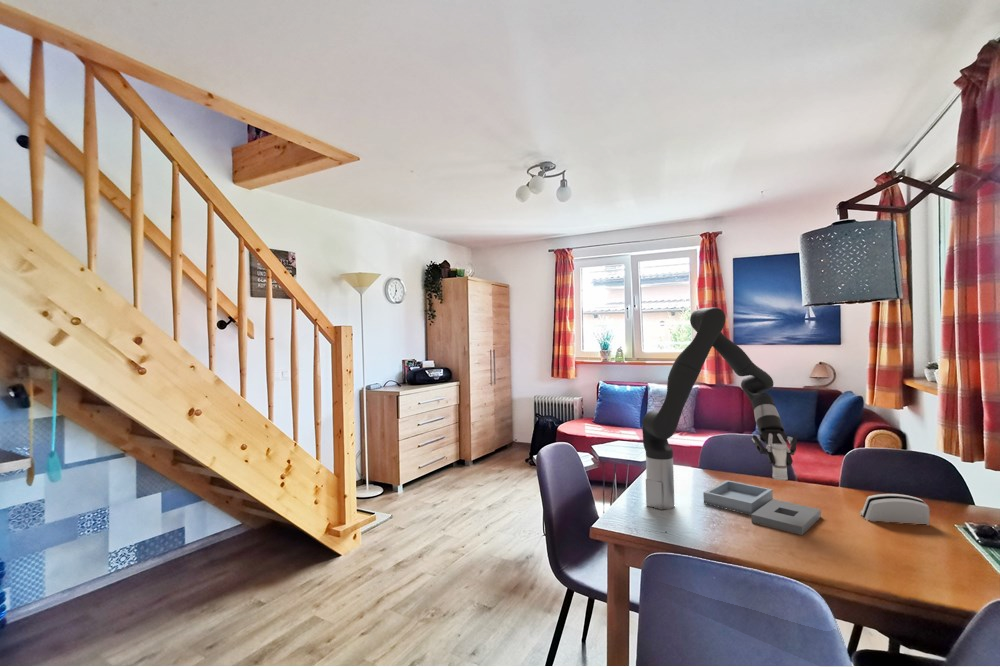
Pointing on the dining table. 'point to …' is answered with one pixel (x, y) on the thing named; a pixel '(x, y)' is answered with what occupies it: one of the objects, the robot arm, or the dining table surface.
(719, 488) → the parts tray
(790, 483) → the dining table surface
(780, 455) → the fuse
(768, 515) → the block
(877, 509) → the grey grooved half-disc
